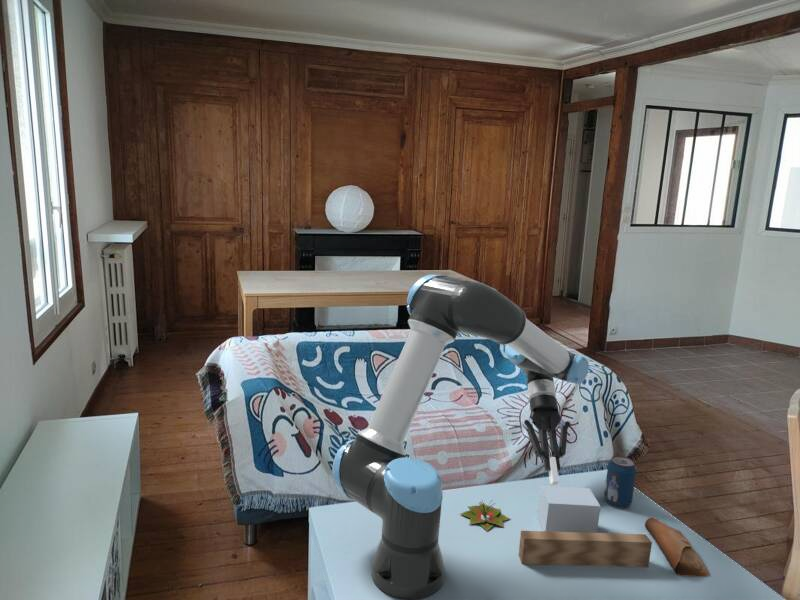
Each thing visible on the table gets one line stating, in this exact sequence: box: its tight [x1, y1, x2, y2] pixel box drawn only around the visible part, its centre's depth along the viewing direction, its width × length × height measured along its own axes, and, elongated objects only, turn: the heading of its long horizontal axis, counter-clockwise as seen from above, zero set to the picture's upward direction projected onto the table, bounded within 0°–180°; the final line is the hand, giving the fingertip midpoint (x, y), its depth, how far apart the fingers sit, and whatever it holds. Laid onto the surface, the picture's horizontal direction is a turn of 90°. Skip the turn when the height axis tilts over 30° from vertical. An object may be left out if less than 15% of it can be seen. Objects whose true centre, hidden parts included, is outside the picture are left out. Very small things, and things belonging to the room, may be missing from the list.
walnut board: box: [518, 530, 653, 568], centre depth 126 cm, size 28×3×6 cm, turn 92°
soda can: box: [603, 455, 637, 509], centre depth 150 cm, size 7×7×12 cm
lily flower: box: [460, 499, 511, 532], centre depth 141 cm, size 12×12×5 cm
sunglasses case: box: [644, 517, 711, 578], centre depth 132 cm, size 18×7×7 cm, turn 177°
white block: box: [536, 485, 601, 533], centre depth 137 cm, size 12×8×9 cm, turn 89°
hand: (554, 483), depth 148 cm, fingers closed
